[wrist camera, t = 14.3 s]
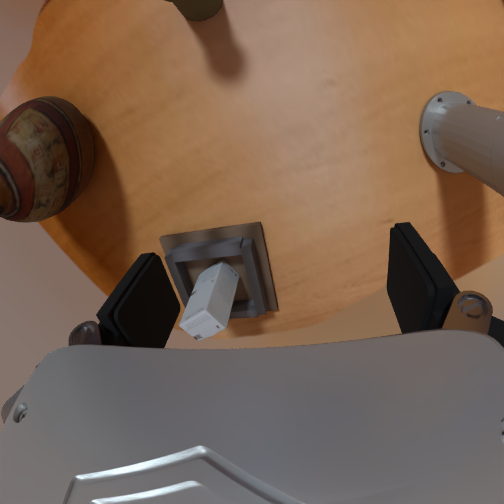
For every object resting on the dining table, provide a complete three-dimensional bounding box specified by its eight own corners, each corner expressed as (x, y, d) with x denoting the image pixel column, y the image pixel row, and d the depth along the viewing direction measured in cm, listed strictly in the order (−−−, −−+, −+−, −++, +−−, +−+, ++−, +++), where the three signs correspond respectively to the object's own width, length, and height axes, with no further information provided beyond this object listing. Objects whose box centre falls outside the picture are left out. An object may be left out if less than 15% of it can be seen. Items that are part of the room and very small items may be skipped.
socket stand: (260, 221, 44) (258, 234, 40) (277, 306, 52) (276, 321, 48) (161, 236, 47) (152, 248, 44) (191, 311, 55) (185, 325, 52)
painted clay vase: (79, 217, 47) (-29, 321, 22) (20, 159, 41) (-91, 228, 16) (125, 134, 38) (-41, 219, 13) (53, 74, 33) (-94, 113, 7)
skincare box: (223, 257, 46) (204, 307, 36) (241, 275, 48) (228, 328, 38) (197, 274, 49) (175, 324, 39) (215, 291, 50) (198, 343, 40)
